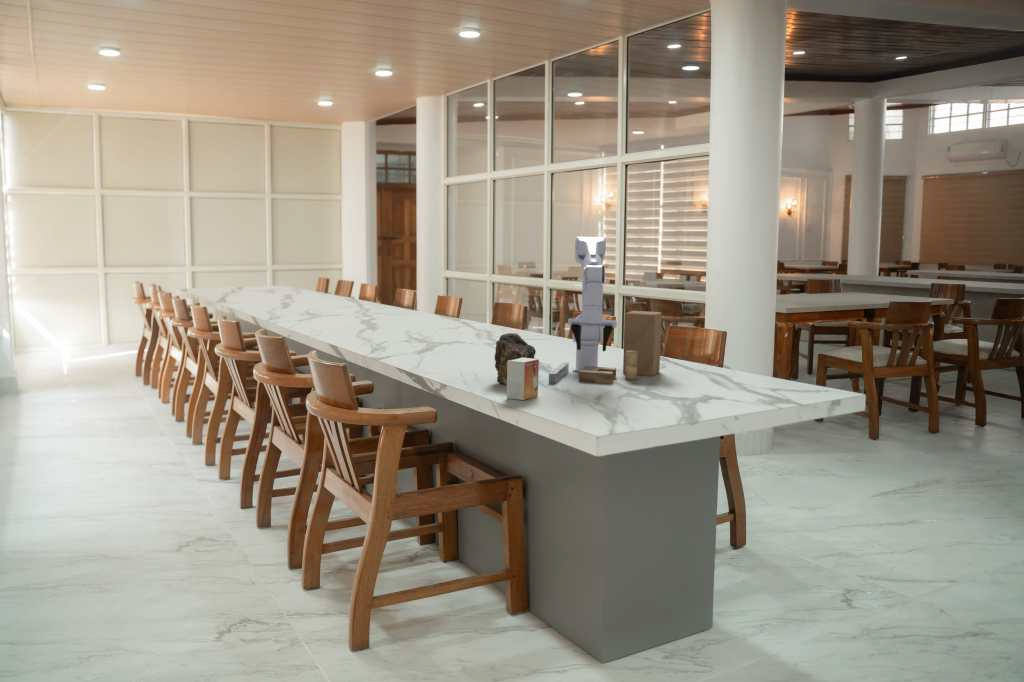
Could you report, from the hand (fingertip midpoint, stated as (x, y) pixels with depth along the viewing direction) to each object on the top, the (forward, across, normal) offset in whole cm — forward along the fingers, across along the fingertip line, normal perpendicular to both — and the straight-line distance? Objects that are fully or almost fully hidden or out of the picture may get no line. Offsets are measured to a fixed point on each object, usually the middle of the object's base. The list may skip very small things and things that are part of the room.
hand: (591, 350), depth 258 cm
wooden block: (+10, +13, +25) cm, 30 cm away
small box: (+10, -14, -30) cm, 34 cm away
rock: (+10, -22, -8) cm, 25 cm away
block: (+10, +1, +7) cm, 12 cm away
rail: (+10, -11, +7) cm, 16 cm away
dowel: (+10, +11, +10) cm, 18 cm away
